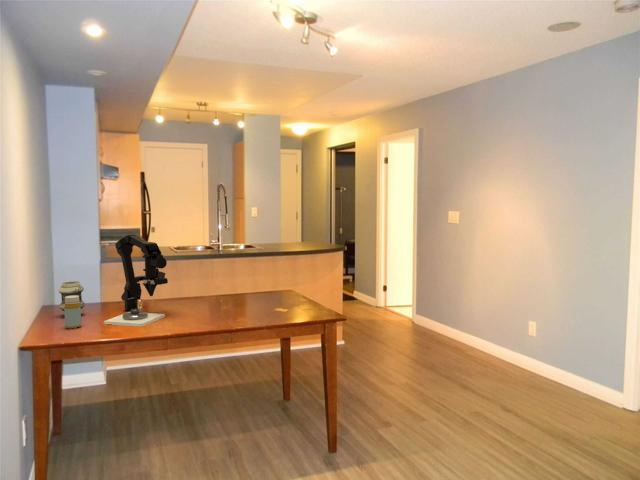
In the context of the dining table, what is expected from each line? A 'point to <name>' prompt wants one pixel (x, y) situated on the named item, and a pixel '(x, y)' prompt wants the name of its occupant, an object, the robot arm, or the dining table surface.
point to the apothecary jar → (71, 292)
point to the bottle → (72, 311)
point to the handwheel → (136, 312)
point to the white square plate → (135, 322)
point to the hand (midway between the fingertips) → (151, 296)
